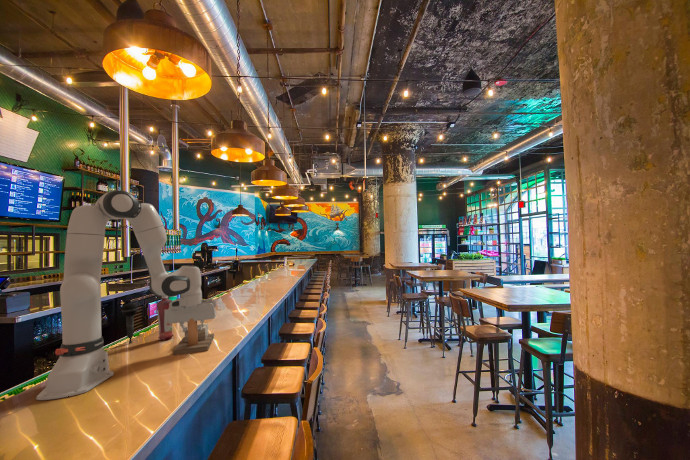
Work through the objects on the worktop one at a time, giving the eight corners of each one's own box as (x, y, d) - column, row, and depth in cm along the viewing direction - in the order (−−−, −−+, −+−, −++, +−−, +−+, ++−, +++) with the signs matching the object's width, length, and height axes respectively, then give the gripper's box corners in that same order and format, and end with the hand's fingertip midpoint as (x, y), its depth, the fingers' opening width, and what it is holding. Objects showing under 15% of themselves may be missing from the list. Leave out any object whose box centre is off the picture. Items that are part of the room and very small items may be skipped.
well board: (207, 350, 141) (207, 333, 141) (172, 355, 137) (172, 337, 137) (214, 337, 162) (213, 322, 162) (184, 340, 158) (183, 325, 158)
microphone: (123, 342, 160) (122, 303, 161) (139, 340, 163) (138, 301, 164) (120, 346, 154) (119, 305, 155) (137, 344, 157) (136, 303, 158)
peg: (197, 345, 143) (196, 318, 144) (187, 346, 142) (186, 319, 143) (198, 342, 147) (197, 316, 148) (189, 343, 146) (188, 317, 147)
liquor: (169, 341, 159) (167, 285, 160) (154, 341, 160) (153, 285, 161) (177, 336, 167) (175, 283, 168) (163, 337, 167) (161, 284, 168)
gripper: (216, 297, 151) (217, 326, 151) (169, 301, 146) (169, 331, 145) (214, 299, 145) (216, 329, 145) (165, 303, 140) (166, 335, 139)
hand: (192, 330), depth 145 cm, fingers open, 5 cm apart
